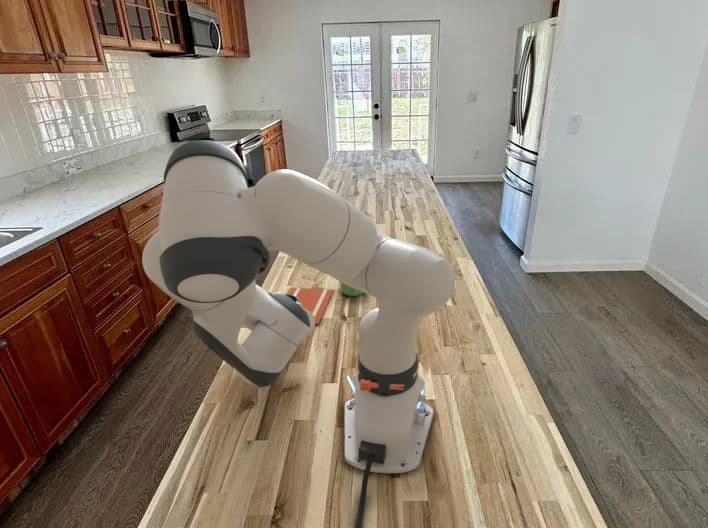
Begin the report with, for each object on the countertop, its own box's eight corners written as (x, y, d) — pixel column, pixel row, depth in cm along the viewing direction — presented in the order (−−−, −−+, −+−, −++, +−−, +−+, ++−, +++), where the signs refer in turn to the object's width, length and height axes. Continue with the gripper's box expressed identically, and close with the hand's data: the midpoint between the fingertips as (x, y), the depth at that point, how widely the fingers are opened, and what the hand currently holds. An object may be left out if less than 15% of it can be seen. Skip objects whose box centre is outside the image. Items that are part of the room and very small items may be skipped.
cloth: (318, 325, 123) (318, 323, 122) (270, 322, 124) (270, 321, 124) (333, 291, 140) (333, 289, 140) (291, 289, 142) (291, 288, 142)
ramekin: (336, 287, 143) (335, 275, 141) (361, 281, 146) (361, 269, 144) (345, 299, 135) (344, 287, 133) (372, 293, 138) (371, 281, 136)
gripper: (218, 325, 101) (242, 336, 114) (304, 330, 98) (318, 341, 111) (223, 299, 103) (246, 313, 116) (307, 303, 100) (321, 317, 113)
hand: (282, 326), depth 113 cm, fingers closed
